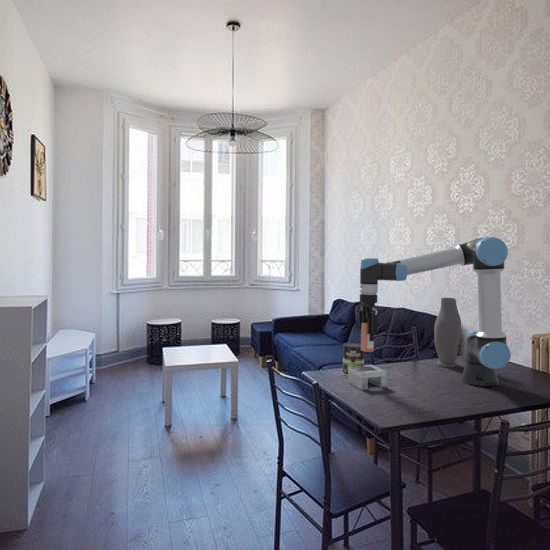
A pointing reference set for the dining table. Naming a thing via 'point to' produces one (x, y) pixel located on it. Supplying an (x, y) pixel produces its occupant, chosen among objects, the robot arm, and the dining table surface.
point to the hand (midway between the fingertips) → (367, 347)
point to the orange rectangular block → (365, 338)
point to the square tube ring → (366, 376)
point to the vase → (447, 333)
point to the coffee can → (352, 356)
